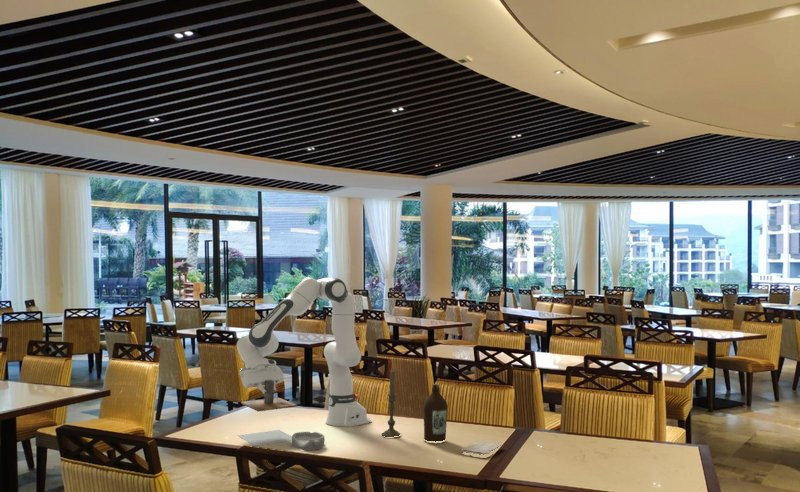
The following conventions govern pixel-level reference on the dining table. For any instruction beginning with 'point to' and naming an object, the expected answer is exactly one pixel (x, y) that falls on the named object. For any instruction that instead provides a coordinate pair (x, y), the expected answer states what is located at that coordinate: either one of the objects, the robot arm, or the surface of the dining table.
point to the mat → (266, 437)
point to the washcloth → (480, 448)
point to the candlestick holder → (391, 408)
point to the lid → (268, 400)
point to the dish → (308, 440)
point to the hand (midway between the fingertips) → (270, 391)
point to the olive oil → (435, 416)
